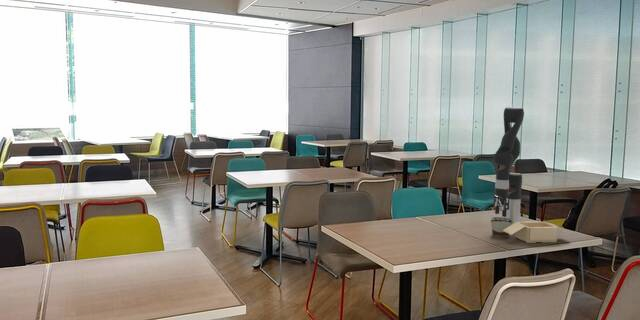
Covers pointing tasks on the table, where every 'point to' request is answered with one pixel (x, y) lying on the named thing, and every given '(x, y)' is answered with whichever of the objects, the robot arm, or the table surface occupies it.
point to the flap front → (513, 228)
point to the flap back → (559, 227)
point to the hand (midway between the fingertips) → (500, 215)
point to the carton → (537, 232)
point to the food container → (500, 226)
